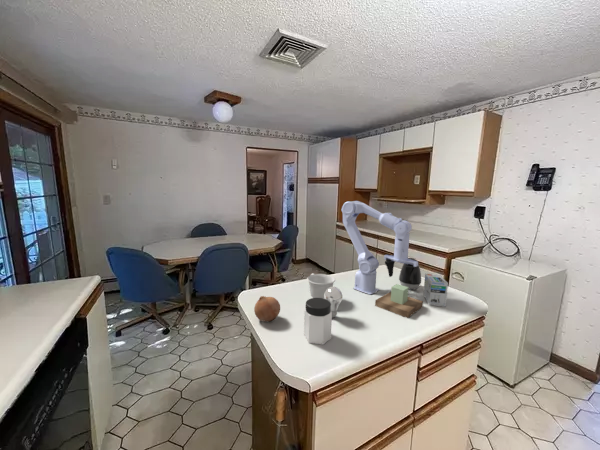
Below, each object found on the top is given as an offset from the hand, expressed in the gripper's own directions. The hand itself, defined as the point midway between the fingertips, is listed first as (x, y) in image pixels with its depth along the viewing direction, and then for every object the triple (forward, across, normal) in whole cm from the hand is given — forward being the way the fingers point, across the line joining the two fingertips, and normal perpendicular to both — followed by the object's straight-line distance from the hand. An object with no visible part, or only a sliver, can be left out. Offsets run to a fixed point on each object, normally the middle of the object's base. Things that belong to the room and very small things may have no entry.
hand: (398, 278), depth 116 cm
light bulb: (+10, -9, -35) cm, 37 cm away
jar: (+10, -4, -49) cm, 50 cm away
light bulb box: (+10, +12, +10) cm, 18 cm away
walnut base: (+9, +4, -7) cm, 12 cm away
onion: (+10, -24, -54) cm, 60 cm away
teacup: (+10, -23, -27) cm, 37 cm away
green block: (+7, +4, -7) cm, 11 cm away
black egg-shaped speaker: (+10, -2, +17) cm, 20 cm away
